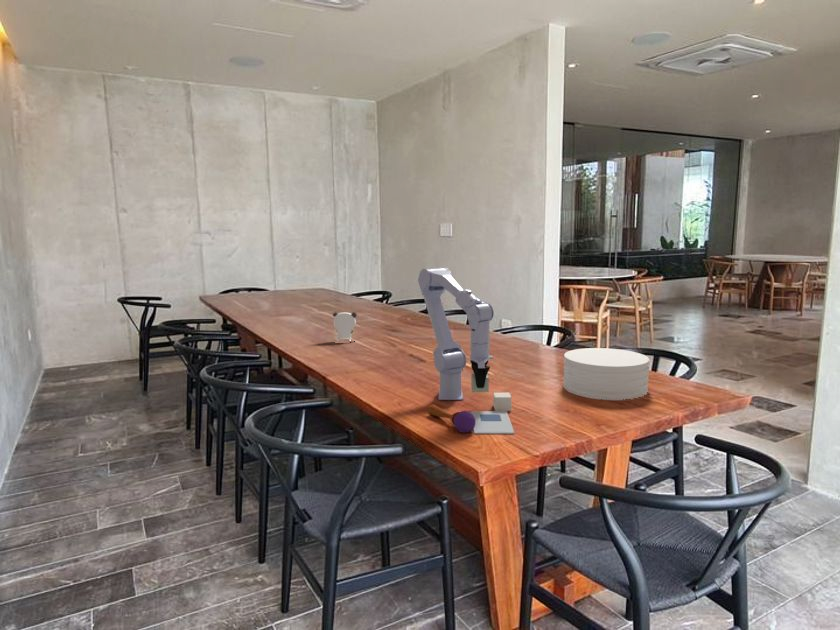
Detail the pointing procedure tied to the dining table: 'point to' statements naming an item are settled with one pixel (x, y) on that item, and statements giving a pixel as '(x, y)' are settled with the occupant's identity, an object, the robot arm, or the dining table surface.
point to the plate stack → (606, 373)
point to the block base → (474, 387)
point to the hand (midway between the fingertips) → (479, 385)
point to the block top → (502, 401)
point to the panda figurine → (344, 324)
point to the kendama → (455, 418)
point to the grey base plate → (492, 422)
